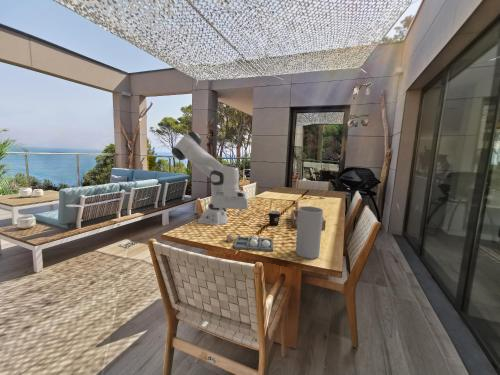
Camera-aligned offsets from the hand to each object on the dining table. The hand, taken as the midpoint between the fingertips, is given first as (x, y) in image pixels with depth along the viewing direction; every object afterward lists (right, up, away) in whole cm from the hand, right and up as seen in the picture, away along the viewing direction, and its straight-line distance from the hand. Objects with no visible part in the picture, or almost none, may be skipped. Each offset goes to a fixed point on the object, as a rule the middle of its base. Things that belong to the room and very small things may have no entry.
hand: (230, 215), depth 131 cm
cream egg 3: (+20, -17, -6) cm, 27 cm away
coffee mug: (+28, -12, +37) cm, 48 cm away
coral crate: (+56, -12, +42) cm, 71 cm away
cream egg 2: (+13, -17, -5) cm, 22 cm away
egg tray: (+14, -17, -2) cm, 22 cm away
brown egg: (0, -16, +3) cm, 16 cm away
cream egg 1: (+14, -16, +2) cm, 21 cm away
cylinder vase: (+43, -20, -10) cm, 48 cm away
